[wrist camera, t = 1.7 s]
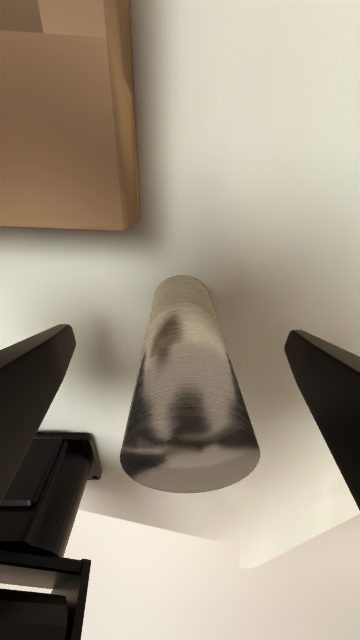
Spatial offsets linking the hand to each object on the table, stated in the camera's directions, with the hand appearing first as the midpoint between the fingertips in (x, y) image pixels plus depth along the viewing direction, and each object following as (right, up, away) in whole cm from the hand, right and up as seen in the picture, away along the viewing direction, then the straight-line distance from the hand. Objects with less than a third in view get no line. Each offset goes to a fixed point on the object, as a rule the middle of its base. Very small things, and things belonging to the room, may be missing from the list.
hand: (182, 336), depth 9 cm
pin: (0, +2, +3) cm, 3 cm away
